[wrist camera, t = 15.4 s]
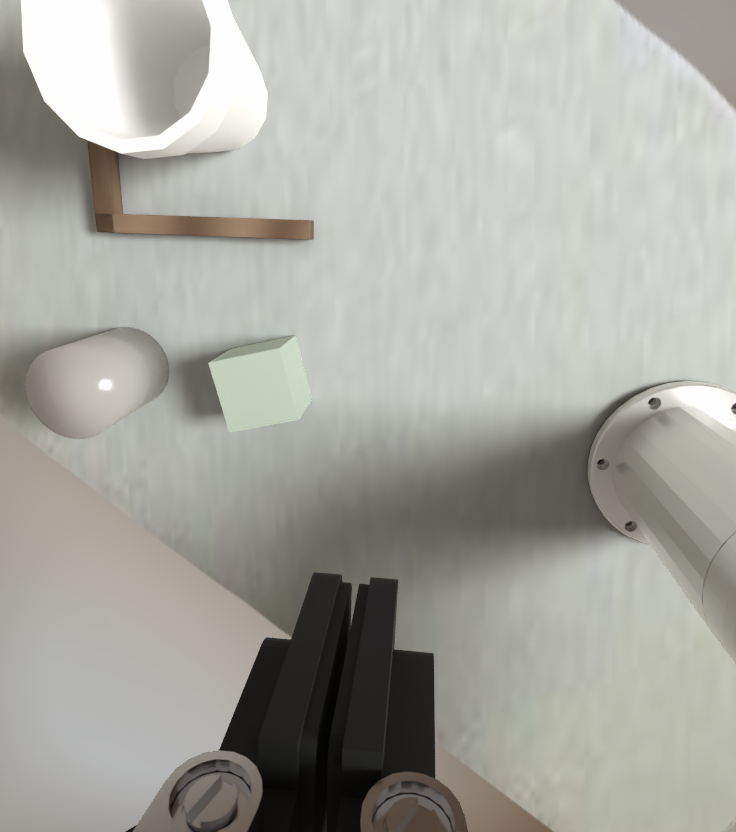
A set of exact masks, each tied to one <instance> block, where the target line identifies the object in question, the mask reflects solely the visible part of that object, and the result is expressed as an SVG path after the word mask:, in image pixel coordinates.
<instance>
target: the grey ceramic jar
mask: <svg viewBox="0 0 736 832" xmlns="http://www.w3.org/2000/svg"><path fill="white" fill-rule="evenodd" d="M168 378H169V365H168V360H167V357H166V355H165V352H164V351H163V349H162V347H161V346H160V345H159V343H158V342H157V341H156V340H155V339H154V338H153V337H151V336H150V335H149V334H147V333H145V332H143V331H141V330H139V329H135V328H130V327H121V328H116V329H113V330H110V331H107V332H104V333H100V334H97V335H94V336H91V337H88V338H85V339H82V340H79V341H76V342H72V343H69V344H66V345H63V346H60V347H57V348H54V349H51V350H48V351H45V352H43V353H42V354H40V355H39V356H37V357H36V358H35V359H34V360H33V362H32V363H31V365H30V367H29V368H28V371H27V374H26V379H25V391H26V396H27V400H28V402H29V405H30V407H31V409H32V411H33V412H34V414H35V415H36V417H37V418H38V419H39V420H40V421H41V422H42V423H43V424H44V425H45V426H46V427H47V428H49V429H50V430H52V431H53V432H55V433H57V434H59V435H61V436H64V437H68V438H73V439H85V438H90V437H93V436H95V435H98V434H99V433H101V432H102V431H104V430H106V429H107V428H109V427H110V426H112V425H114V424H115V423H117V422H118V421H120V420H122V419H123V418H125V417H126V416H128V415H130V414H131V413H133V412H134V411H136V410H138V409H139V408H141V407H142V406H144V405H146V404H147V403H149V402H150V401H152V400H154V399H155V398H157V397H158V396H159V395H160V394H161V393H162V392H163V390H164V389H165V387H166V385H167V382H168Z"/></svg>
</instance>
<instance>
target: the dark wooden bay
mask: <svg viewBox="0 0 736 832" xmlns="http://www.w3.org/2000/svg"><path fill="white" fill-rule="evenodd" d="M88 149H89V159H90V168H91V178H92V187H93V196H94V206H95V215H96V225H97V232H118V233H145V234H173V235H201V236H228V237H256V238H283V239H313V227H314V221H309V220H280V219H250V218H220V217H190V216H161V215H131V214H123V208H122V197H121V186H120V176H119V165H118V154H117V152H116V151H113V150H111V149H108V148H106V147H103V146H101V145H98V144H96V143H93V142H91V141H88Z"/></svg>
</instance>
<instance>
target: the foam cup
mask: <svg viewBox="0 0 736 832" xmlns="http://www.w3.org/2000/svg"><path fill="white" fill-rule="evenodd" d="M21 11H22V34H23V52H24V55H25V57H26V59H27V62H28V64H29V66H30V69H31V71H32V73H33V76H34V78H35V80H36V83H37V85H38V88H39V90H40V92H41V95H42V97H43V99H44V101H45V102H46V103H47V104H48V105H49V106H50V107H51V108H52V109H53V111H54V112H55V113H56V114H57V115H58V116H59V117H60V118H61V119H62V120H63V121H64V122H65V123H66V124H67V125H68V126H69V127H70V128H71V129H72V130H73V131H74V132H75V133H76V134H77V135H78V136H79V137H81V138H83V139H86V140H88V141H91V142H93V143H96V144H98V145H101V146H103V147H106V148H108V149H111V150H113V151H116V152H118V153H121V154H125V155H129V156H133V157H137V158H141V159H151V158H160V157H169V156H178V155H184V154H186V153H206V152H221V151H230V150H238V149H240V148H241V147H243V146H244V145H245V144H247V143H248V142H250V141H251V140H253V139H254V138H255V137H256V135H257V134H258V132H259V130H260V128H261V126H262V124H263V122H264V120H265V119H266V111H267V97H268V93H267V90H266V87H265V84H264V81H263V78H262V75H261V72H260V70H259V67H258V65H257V63H256V61H255V59H254V57H253V55H252V53H251V51H250V49H249V47H248V45H247V43H246V41H245V39H244V38H243V36H242V34H241V32H240V30H239V28H238V26H237V24H236V22H235V20H234V18H233V16H232V13H231V10H230V7H229V4H228V1H227V0H21Z"/></svg>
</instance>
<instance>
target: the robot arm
mask: <svg viewBox="0 0 736 832" xmlns="http://www.w3.org/2000/svg"><path fill="white" fill-rule="evenodd" d="M651 398H653V402H651V403H648V402H649V400H650V399H651ZM733 404H735V405H734V406H733V407H732V405H733ZM731 407H732V408H731ZM600 459H603V460H602V462H600V463H597V462H598V461H599V460H600ZM588 482H589V486H590V491H591V494H592V496H593V498H594V500H595V502H596V504H597V506H598V508H599V509H600V511H601V512H602V514H603V515H604V517H605V518H606V519H607V520H608V521H609V522H610V523H611V524H612V525H613V526H614V527H615V528H616V529H618V530H619V531H620V532H622V533H623V534H625V535H626V536H629V537H631V538H633V539H635V540H637V541H640V542H643V543H647V544H650V545H651V546H652V548H653V549H654V550H655V552H656V553H657V555H658V556H659V558H660V559H661V560H662V562H663V563H664V565H665V566H666V567H667V569H668V570H669V572H670V573H671V575H672V576H673V577H674V579H675V580H676V582H677V583H678V585H679V586H680V587H681V589H682V590H683V592H684V593H685V595H686V596H687V597H688V599H689V600H690V602H691V603H692V604H693V606H694V607H695V609H696V610H697V612H698V613H699V614H700V616H701V617H702V619H703V620H704V622H705V623H706V624H707V626H708V627H709V629H710V630H711V632H712V633H713V634H714V635H715V637H716V638H717V639H718V641H719V642H720V644H721V645H722V646H723V648H724V649H725V651H726V652H727V653H728V654H729V655H730V657H731V658H732V659H733V660H734V661H735V663H736V393H735V392H733V391H731V390H729V389H726V388H724V387H722V386H719V385H715V384H711V383H707V382H697V381H681V382H673V383H666V384H663V385H660V386H656V387H653V388H650V389H648V390H646V391H644V392H642V393H639V394H637V395H635V396H633V397H632V398H631V399H629V400H628V401H626V402H625V403H624V404H622V405H621V406H619V407H618V408H617V409H616V410H615V411H614V412H613V413H612V414H611V415H610V416H609V418H608V419H607V420H606V421H605V423H604V424H603V426H602V427H601V428H600V430H599V431H598V433H597V435H596V437H595V440H594V442H593V444H592V447H591V450H590V455H589V459H588ZM629 521H630V522H629ZM627 522H629V523H627ZM397 590H398V580H396V579H385V578H373V577H371V579H370V585H366V584H359V588H358V593H357V599H356V604H355V609H354V614H353V619H352V624H351V591H352V586H351V583H343V582H342V576H341V575H338V574H326V573H313V576H312V579H311V582H310V585H309V588H308V591H307V594H306V597H305V600H304V603H303V606H302V609H301V612H300V615H299V618H298V621H297V624H296V627H295V630H294V633H293V636H292V639H291V640H287V639H277V638H266V639H265V640H264V641H263V643H262V645H261V647H260V650H259V652H258V655H257V657H256V660H255V662H254V665H253V667H252V670H251V672H250V675H249V677H248V680H247V682H246V685H245V687H244V690H243V692H242V695H241V697H240V700H239V702H238V705H237V707H236V710H235V712H234V715H233V717H232V720H231V722H230V724H229V727H228V730H227V732H226V735H225V737H224V739H223V742H222V744H221V747H220V749H219V751H213V752H207V753H203V754H201V755H198V756H196V757H194V758H191V759H189V760H188V761H186V762H185V763H183V764H182V765H181V766H179V767H178V768H177V769H175V771H174V772H173V773H172V774H171V775H170V777H169V778H168V779H167V780H166V781H165V783H164V784H163V786H162V787H161V789H160V790H159V792H158V793H157V795H156V797H155V798H154V800H153V801H152V803H151V804H150V806H149V807H148V809H147V810H146V812H145V813H144V815H143V816H142V818H141V820H140V821H139V823H138V824H137V825H136V826H134V827H133V828H131V829H129V830H128V831H126V832H326V831H327V832H468V828H467V823H466V818H465V815H464V813H463V810H462V807H461V805H460V802H459V801H458V799H457V798H456V797H455V796H454V794H453V793H452V791H451V790H450V789H449V788H448V787H446V786H445V785H444V784H442V783H441V782H440V781H438V780H437V779H435V722H434V656H433V653H424V652H413V651H403V650H394V643H395V625H396V608H397ZM350 626H351V629H350ZM723 832H736V817H735V818H734V820H733V821H732V822H731V823H730V824H729V826H728V827H727V828H726V829H725V830H724V831H723Z"/></svg>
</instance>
